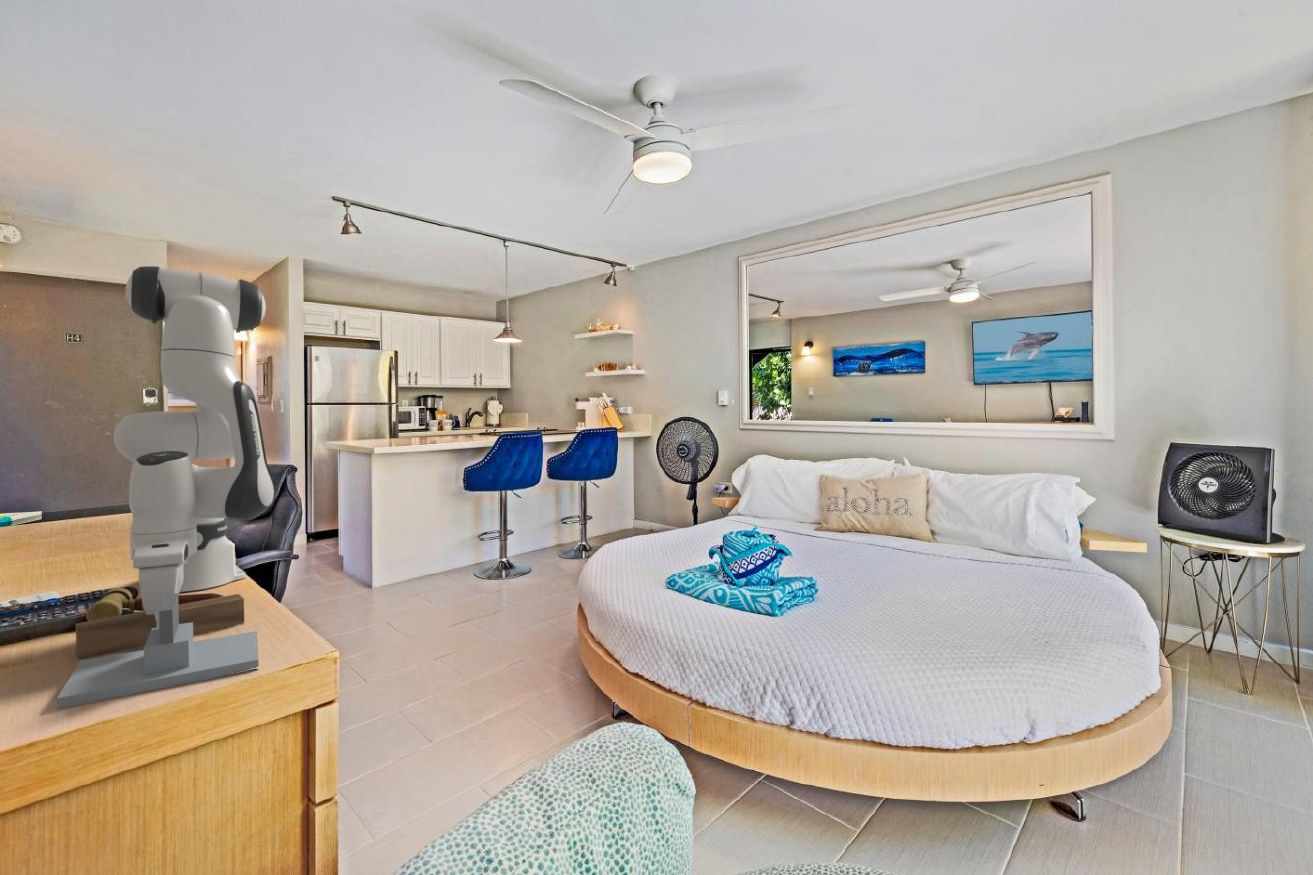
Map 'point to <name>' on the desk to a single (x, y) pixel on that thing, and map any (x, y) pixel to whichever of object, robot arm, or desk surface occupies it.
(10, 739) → the desk surface
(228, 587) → the desk surface
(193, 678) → the ridge stand
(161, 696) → the desk surface
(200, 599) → the gavel
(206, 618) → the bar
